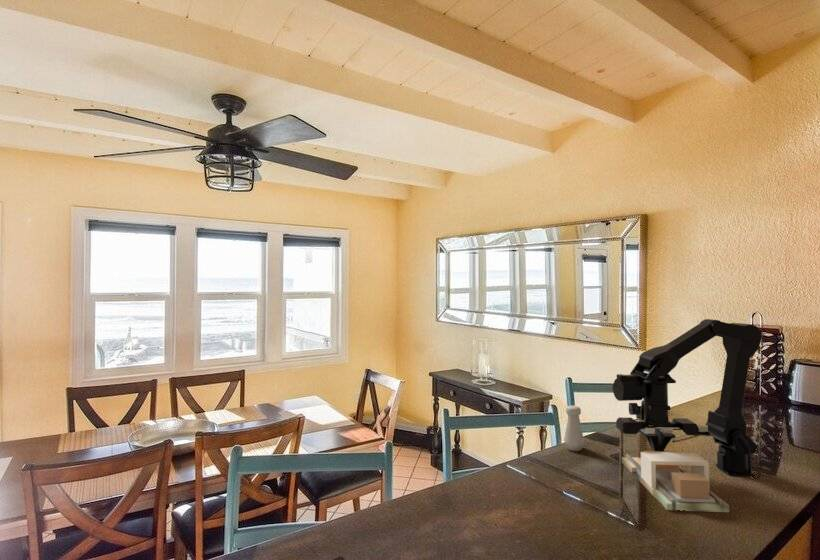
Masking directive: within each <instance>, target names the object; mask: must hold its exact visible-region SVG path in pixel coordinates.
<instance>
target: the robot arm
mask: <svg viewBox="0 0 820 560" xmlns="http://www.w3.org/2000/svg"><path fill="white" fill-rule="evenodd" d="M715 337H719V338H722V345H723V348H724V350H725V353H726V360H725V365H724V366H725V367H724V373H723V378H722V385H721V392H720V396H719V397H720V398H719V404H718V407H717V408H716V409H715V410H714V411H711V410H709V411H708V412H707V421H706V422H705V425H706V427H708V432H707V433H709V434H710V436H711V437H712V440H713V442H714V443H715V444H719V445H718V450H717V451H716V457H717V459H716V463H715V467H717V468H719V470H721V471H723V473H725V474H727V475H729V476H742V477H745V476H746V477H747V476H748V477H755V476H756V473H754V472H753V471H752V456H751V455H752V454H756V452H757V450H758V449H757V448H758V445H757V444H756V442H754V441H753V440H752V438H750V437H749V436H748V435H747V433H748V431H747V428H748V426H747V423H746V419H745V417H744V414H743V411H742V410H743V405H744V399H745V398H744V397H745V393H746V386H747V380H748V372H749V366H750V361H751V358H752V357H753V356H754V355H755V353H757V351H758V350H759V348H760V345H761V342H762V339H763V332H762V331H761V330H760V328H759V327H757V325H755V324H748V323H747V324H746V323H740V322H739V323H738V322H731V323H728V322H724V321H721V320H718V319H711V318H710V319H709V318H706V319H702V320H701V321H700V322H699V323H698V324H697V325H695V326H694V327H692V328H691V329H689V330H687V331H686V332H684V333H683V334H681V335H679V336H678V337H676V338H674V339H673V340H672V341H670V342H668V343H667V344H664V345H661V346H656V347H653V348H650V349H648V350H645V351H643V352H641V354H640V355H639V356H638V357H639V358H638V361H637V363H636V364H635V365H634V367H633V368H632V370H631V371H630V374H622V373H621V374H619V373H617V374H616V378H615V379H614V380H613V384H612V392H613V396H614V398H615V399H616V400H617V401H618V402H619V401H621V402H622V401H623V402H625V401H628V402H629V401H641V402H640V403H641V405H638V403H637V402H629V403H628V414H629V415H630V416H635V417H636V420H637V419H639V420H641V421H636V420H635V419H634V418H633V417H622V416H621V417H618V418H617V419H616V421H615V427H616V428H617V429H618V430H619V431H620V432H621V433H623V434H624V435H637V434H638V433H640V434H642V435H643V436H645V438H646V439H647V442H648V444H649V447H650V449H651V451H665V449H666V447H667V446H668V444H669V443H671V442H670V440H671V439H672V438H675V436H676V434H674V431H682V432H683V433H685V434H686V435H687V436H699V435H700V432H699V428H698V426H697V425H698V424H697V423H696V422H694V421H693V420H690V419H688V418H680V417H679V418H678V417H677V418H676V417H675V418H673V419H672V420H671V421H669V411H671V406H670V405H669V396H668V395H669V391H668V389H669V385H668V384H676V383H677V380H675V378H673V377H672V376H671V375H670V374H669V373H671V371H673V370H674V369H675V368H676V367H677V365H678V363H679V361H680V360H681V359H682V358H683V357H685V356H686V355H688V354H690V353H691V352H693V351H694V350H696V349H698V348H699V347H701V346H703V345H704V344H706V342H709V341H710V340H712V339H713V338H715ZM686 435H685V436H686Z"/></svg>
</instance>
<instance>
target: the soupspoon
mask: <svg viewBox="0 0 820 560" xmlns="http://www.w3.org/2000/svg"><path fill="white" fill-rule="evenodd" d="M697 426H698V428H699V433H709V432H708V426H707V425H706V426H705V425H701V424H697ZM683 436H686V434H685V433H684V432H683V433H681V434H678V435H675V438H672V439H671V440H670V441H671V442H670V443H673V442H674V441H675V440H677V439H678V438H681V437H683Z"/></svg>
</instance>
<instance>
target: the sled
mask: <svg viewBox="0 0 820 560" xmlns="http://www.w3.org/2000/svg"><path fill="white" fill-rule="evenodd" d="M642 452H676V453H678V452H677V451H675V450H674V451H672V450H668V451H667V450H664V451H652V450H643V451H642ZM679 466H680V465H656V481H657V482H658V483H659V484H660V485H661V486H662V487H663V488H664V489H665V490H666V491H667V492H668V493H669V494H670V495H671V496H672V497H673V498H674V499H675V500H676V501H677V502H708V503H715V499H713V498H712V497H711V496H710V495H709V490H710V480H709V481H708V480H707V479H706V478H704V477H703V476H702V475H701V474H699V473H691V472H687V473H682V472H681V471H679Z"/></svg>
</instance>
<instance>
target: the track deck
mask: <svg viewBox="0 0 820 560" xmlns="http://www.w3.org/2000/svg"><path fill="white" fill-rule="evenodd" d="M621 463H622V465H624V466H625V468H627V470H628V471H629V472H630V473H631V474H632V475H633V476H634V477H635V478H636V479H637V480H638V482H640V484H642V485H643V487H644V488H645V489H646V490H647V491H648V492H649V493H650V494H651V495H652V496H653V497H654V499H656V500H657V501H658V502H659V504H660V505H661V506H663V508H664V509H665V510H666V511H677V510H680V511H681V512H685V511H686V512H709V513H710V512H712V513H730V505H729V503H727V502H726V501H725V500H723V499H722V498H720V497H719V496H718V495H717V494H715V493H714V492H713V491H712V490H711V489H709V495H710V496H711V497H712V498H713V499H715V503H708V502H677V501H676V500H675V499H674V498H673V497H672V496H671V495H670V494H669V493H668V492H667V491H666V490H665V489H664V488H663V487H662V486H661V485H660V484H659V483H658V482H657V481H656V488H651V487H650V486H649V485H648V484H647V483H646V482H645V480H644V479H643V478H642V477H641V457H632V456H631V455H630V454H625V456H624V457H623V456H622V457H621ZM679 471H681V472H682V473H688V472H687V471H686V470H685V469H684V468H683V467H682V465H679ZM683 510H685V511H683Z"/></svg>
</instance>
